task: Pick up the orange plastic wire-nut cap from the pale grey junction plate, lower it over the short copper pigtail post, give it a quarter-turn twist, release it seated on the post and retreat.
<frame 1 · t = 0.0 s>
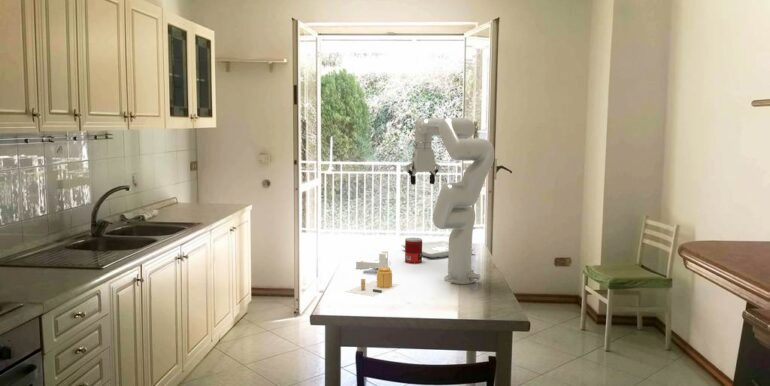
hand: (422, 184, 279), 37 cm above the table, tool pointing down, fingers open, 9 cm apart
canned food: (413, 262, 289), on the table
bracket: (372, 268, 276), on the table
square plate: (437, 253, 312), on the table
junction plate: (373, 291, 235), on the table
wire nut: (384, 286, 238), point 1 cm above the table, touching junction plate
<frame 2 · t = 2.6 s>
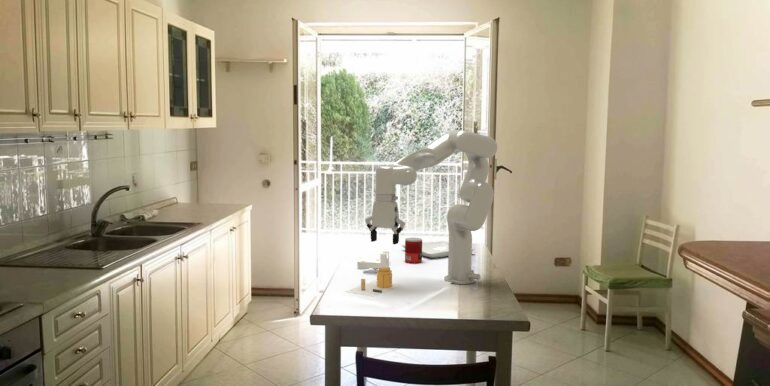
hand: (384, 242, 237), 19 cm above the table, tool pointing down, fingers open, 9 cm apart
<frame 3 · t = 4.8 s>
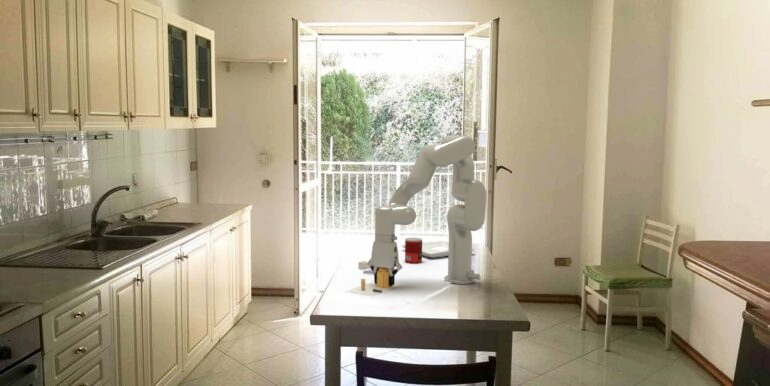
hand: (384, 283, 238), 2 cm above the table, tool pointing down, fingers closed on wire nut, 5 cm apart
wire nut: (384, 286, 238), point 2 cm above the table, touching gripper, junction plate
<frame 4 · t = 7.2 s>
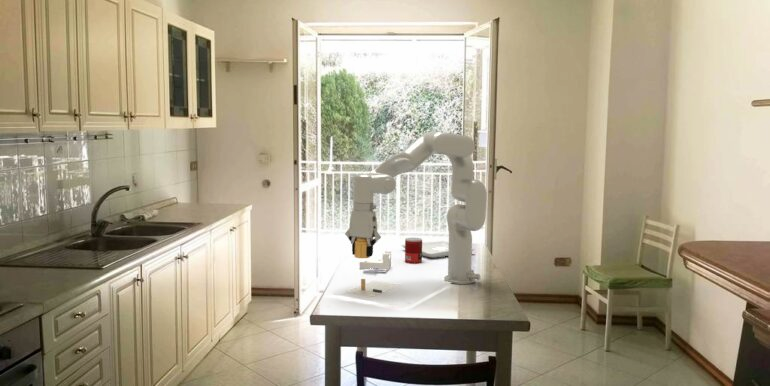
hand: (362, 254, 231), 15 cm above the table, tool pointing down, fingers closed on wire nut, 5 cm apart
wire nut: (362, 256, 231), point 14 cm above the table, touching gripper
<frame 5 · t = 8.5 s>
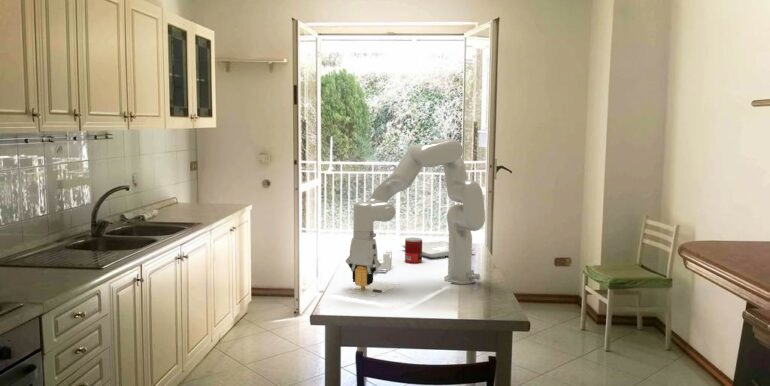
hand: (362, 282, 232), 4 cm above the table, tool pointing down, fingers closed on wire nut, 5 cm apart
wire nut: (362, 284, 232), point 4 cm above the table, touching gripper
when the fingers open (3 cm above the table, at t = 9.5 s): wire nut stays where it is, resting on junction plate.
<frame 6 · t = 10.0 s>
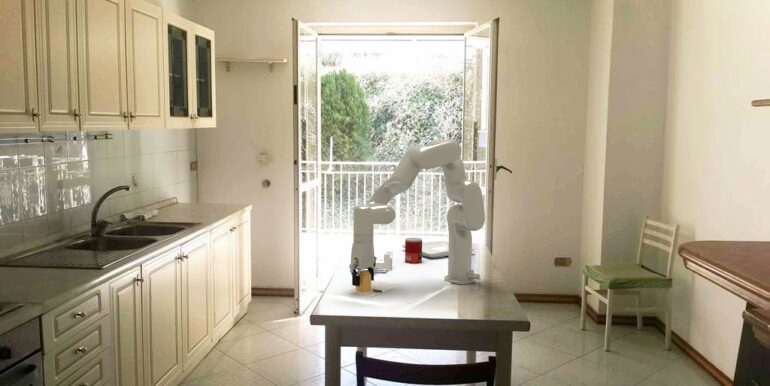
hand: (363, 282, 232), 4 cm above the table, tool pointing down, fingers open, 9 cm apart
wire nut: (363, 289, 233), point 1 cm above the table, touching junction plate
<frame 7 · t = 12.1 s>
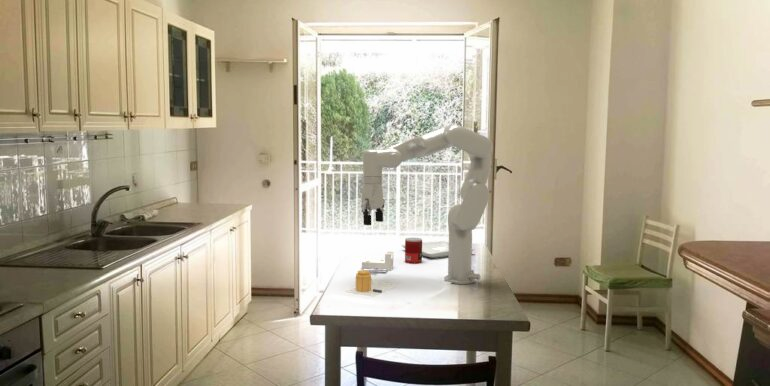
hand: (373, 223, 246), 25 cm above the table, tool pointing down, fingers open, 9 cm apart
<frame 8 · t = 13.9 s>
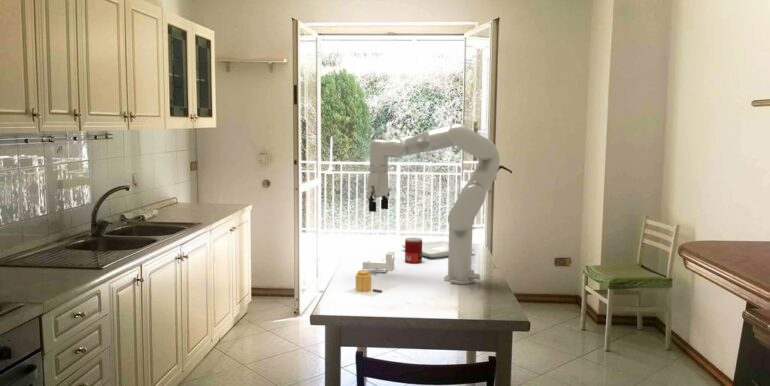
hand: (378, 210, 257), 28 cm above the table, tool pointing down, fingers open, 9 cm apart
at the end: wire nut 0.1 cm from the target spot on the junction plate, point 1.5 cm above the junction plate's base; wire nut tilted 0°; the gripper is holding nothing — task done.
